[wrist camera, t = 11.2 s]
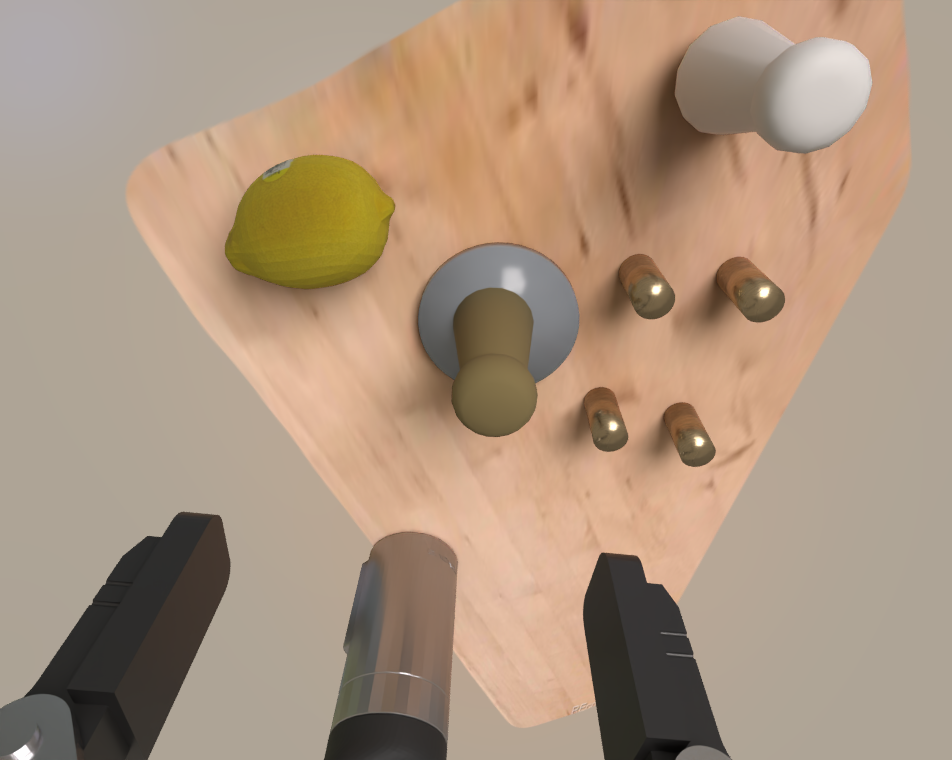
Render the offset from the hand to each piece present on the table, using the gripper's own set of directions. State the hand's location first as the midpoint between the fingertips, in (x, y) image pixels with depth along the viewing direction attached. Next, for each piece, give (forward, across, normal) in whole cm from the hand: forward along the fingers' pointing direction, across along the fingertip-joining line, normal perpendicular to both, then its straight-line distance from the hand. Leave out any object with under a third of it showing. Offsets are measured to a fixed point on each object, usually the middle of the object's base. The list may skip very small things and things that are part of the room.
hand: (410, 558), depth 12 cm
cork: (+29, -3, +9) cm, 31 cm away
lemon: (+30, +9, +2) cm, 32 cm away
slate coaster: (+30, -4, +9) cm, 32 cm away
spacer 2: (+30, -13, +4) cm, 33 cm away
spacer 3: (+30, -20, +16) cm, 40 cm away
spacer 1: (+30, -13, +16) cm, 36 cm away
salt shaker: (+30, -14, -8) cm, 34 cm away
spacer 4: (+30, -20, +4) cm, 36 cm away
